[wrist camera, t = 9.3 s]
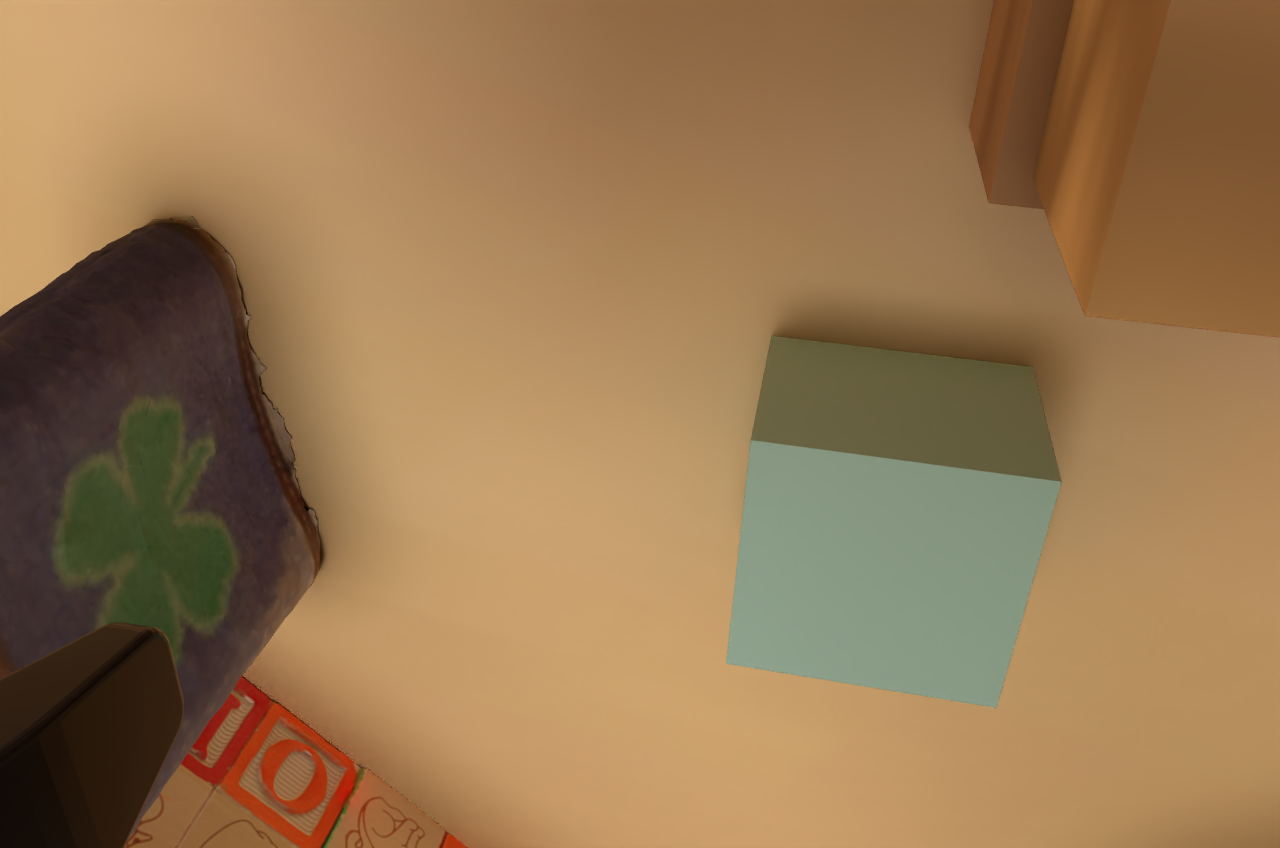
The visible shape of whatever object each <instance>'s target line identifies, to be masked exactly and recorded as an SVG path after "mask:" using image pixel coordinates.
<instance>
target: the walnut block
mask: <svg viewBox="0 0 1280 848" xmlns="http://www.w3.org/2000/svg"><path fill="white" fill-rule="evenodd" d="M1073 3H1074V0H994V5H993V10H992V15H991V20H990V25H989V30H988V35H987V40H986V45H985V50H984V55H983V60H982V65H981V70H980V75H979V80H978V85H977V90H976V95H975V100H974V105H973V110H972V115H971V120H970V125H969V128H970V132H971V136H972V140H973V143H974V147H975V151H976V155H977V159H978V163H979V167H980V171H981V175H982V179H983V182H984V186H985V190H986V194H987V198H988V202H989V203H992V204H1001V205H1011V206H1020V207H1030V208H1040V209H1044V207H1043V205H1042V202H1041V199H1040V197H1039V194H1038V192H1037V189H1036V186H1035V184H1034V181H1033V177H1034V172H1035V168H1036V164H1037V159H1038V155H1039V151H1040V146H1041V142H1042V138H1043V133H1044V129H1045V125H1046V120H1047V116H1048V112H1049V107H1050V103H1051V98H1052V94H1053V90H1054V85H1055V81H1056V77H1057V72H1058V68H1059V64H1060V59H1061V55H1062V51H1063V46H1064V42H1065V38H1066V33H1067V29H1068V24H1069V20H1070V16H1071V11H1072V7H1073Z"/></svg>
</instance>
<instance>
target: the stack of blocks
mask: <svg viewBox="0 0 1280 848" xmlns="http://www.w3.org/2000/svg"><path fill="white" fill-rule="evenodd" d="M124 848H467V847H466V846H465V845H463V844H462V843H461V842H460V841H458V840H457V839H456V838H455V837H453V836H452V835H450V834H448V833H447V832H446V831H445V830H444V829H443V828H442V827H441V826H439V825H438V824H437V823H435V822H434V821H433V820H432V819H431V818H430V817H428V816H427V815H426V814H425V813H423V812H422V811H421V810H420V809H418V808H417V807H416V806H415V805H413V804H412V803H411V802H409V801H408V800H407V799H406V798H404V797H403V796H402V795H401V794H399V793H398V792H397V791H395V790H394V789H393V788H392V787H390V786H389V785H388V784H386V783H385V782H384V781H382V780H381V779H380V778H379V777H377V776H376V775H375V774H374V773H372V772H371V771H369V770H368V769H365V768H361V767H359V766H358V765H357V764H355V763H354V762H353V761H352V760H351V759H350V758H349V757H348V756H346V755H345V754H344V753H342V752H340V751H339V750H337V749H336V748H335V747H334V746H332V745H331V744H329V743H328V742H326V741H325V740H324V739H323V738H322V737H321V736H320V735H318V734H317V733H316V732H315V731H313V730H312V729H311V728H309V727H308V726H307V725H305V724H304V723H303V722H301V721H300V720H299V719H298V718H296V717H295V716H294V715H293V714H291V713H290V712H289V711H287V710H286V709H285V708H283V707H282V706H281V705H279V704H278V703H275V702H273V701H271V700H270V699H269V698H268V697H267V696H266V695H265V694H264V693H263V692H261V691H260V690H259V689H257V688H256V687H255V686H253V685H252V684H251V683H249V682H248V681H247V680H246V679H244V678H243V677H242V676H241V677H240V679H239V680H238V682H237V684H236V685H235V687H234V689H233V690H232V692H231V693H230V695H229V697H228V698H227V700H226V701H225V703H224V705H223V706H222V707H221V708H220V709H219V710H218V712H217V713H216V714H215V715H214V716H213V717H212V718H211V720H210V721H209V722H208V724H207V725H206V727H205V728H204V730H203V732H202V733H201V735H200V736H199V738H198V739H197V741H196V742H195V743H194V745H193V746H192V747H191V749H190V750H189V752H188V753H187V755H186V756H185V758H184V759H183V761H182V762H181V764H180V765H179V767H178V768H177V770H176V771H175V772H174V774H173V775H172V776H171V778H170V779H169V780H168V782H167V783H166V784H165V786H164V787H163V789H162V791H161V793H160V794H159V796H158V798H157V799H156V801H155V802H154V803H153V804H152V806H151V807H150V808H149V810H148V811H147V812H146V813H145V815H144V816H143V817H142V819H141V821H140V823H139V825H138V827H137V829H136V830H135V831H134V833H133V834H132V836H131V837H130V838H129V840H128V841H127V843H126V845H125V847H124Z"/></svg>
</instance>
